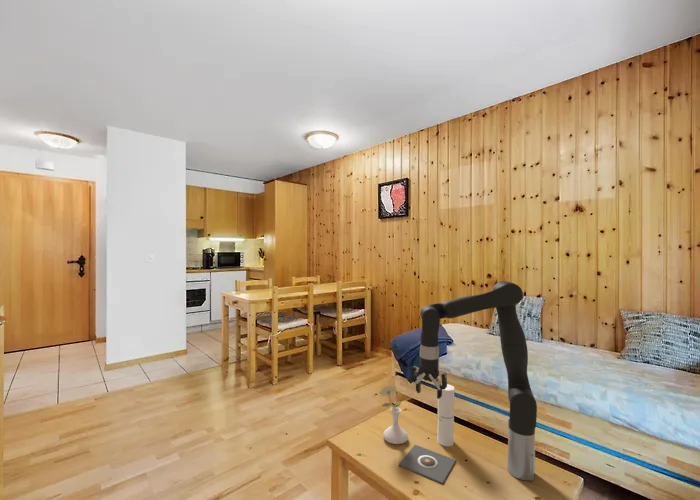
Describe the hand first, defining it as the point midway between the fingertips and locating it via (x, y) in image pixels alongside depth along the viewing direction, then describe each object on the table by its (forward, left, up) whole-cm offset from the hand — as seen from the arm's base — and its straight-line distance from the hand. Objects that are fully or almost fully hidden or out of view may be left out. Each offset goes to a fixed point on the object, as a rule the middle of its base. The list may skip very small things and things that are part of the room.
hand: (428, 395), depth 135 cm
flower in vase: (+19, -7, -28) cm, 35 cm away
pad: (0, 0, -28) cm, 28 cm away
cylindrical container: (-1, -19, -28) cm, 34 cm away
